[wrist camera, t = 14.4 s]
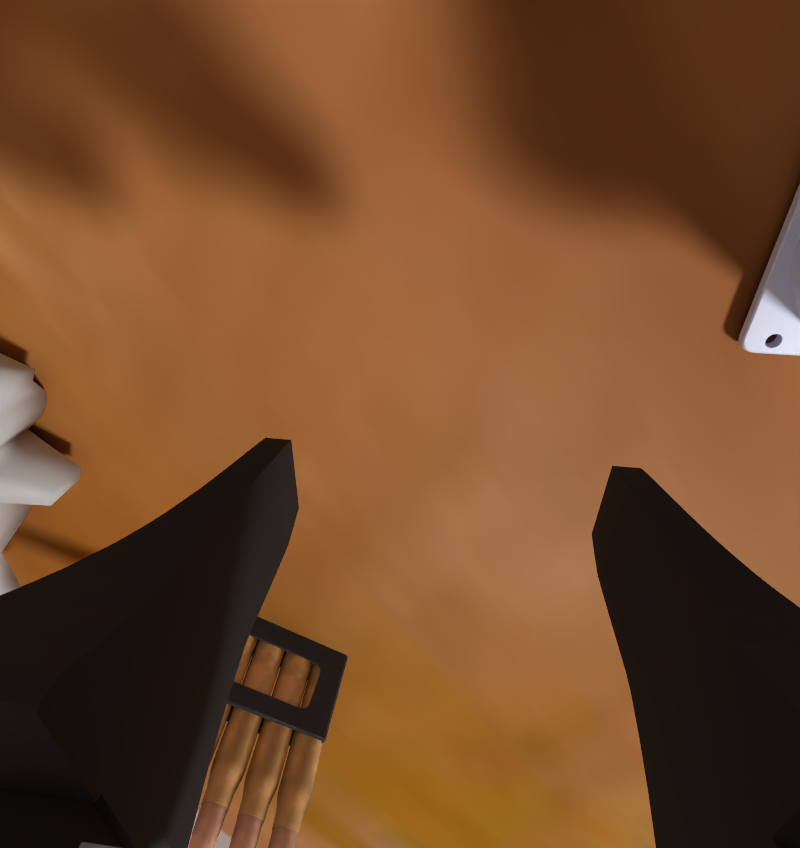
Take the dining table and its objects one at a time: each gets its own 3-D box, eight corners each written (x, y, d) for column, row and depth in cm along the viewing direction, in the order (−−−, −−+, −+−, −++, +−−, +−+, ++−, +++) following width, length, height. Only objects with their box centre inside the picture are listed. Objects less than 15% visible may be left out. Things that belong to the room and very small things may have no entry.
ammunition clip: (174, 601, 31) (35, 846, 21) (183, 584, 30) (41, 832, 20) (335, 669, 33) (277, 923, 23) (348, 655, 32) (293, 914, 22)
